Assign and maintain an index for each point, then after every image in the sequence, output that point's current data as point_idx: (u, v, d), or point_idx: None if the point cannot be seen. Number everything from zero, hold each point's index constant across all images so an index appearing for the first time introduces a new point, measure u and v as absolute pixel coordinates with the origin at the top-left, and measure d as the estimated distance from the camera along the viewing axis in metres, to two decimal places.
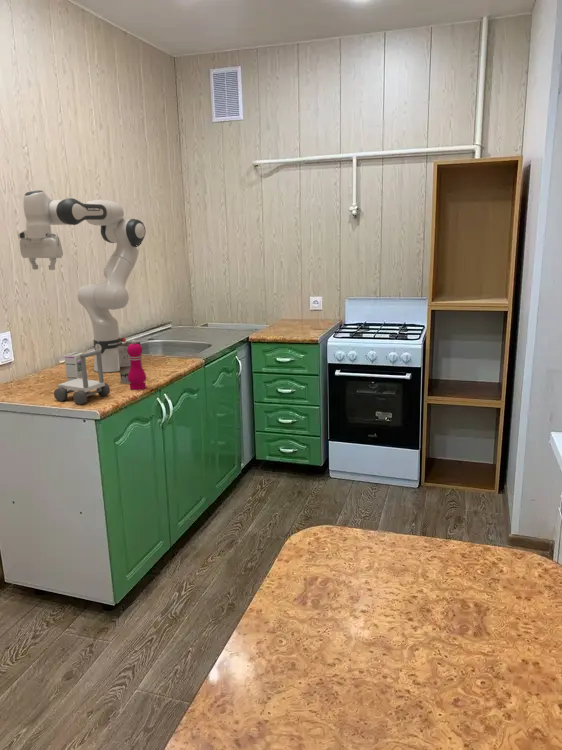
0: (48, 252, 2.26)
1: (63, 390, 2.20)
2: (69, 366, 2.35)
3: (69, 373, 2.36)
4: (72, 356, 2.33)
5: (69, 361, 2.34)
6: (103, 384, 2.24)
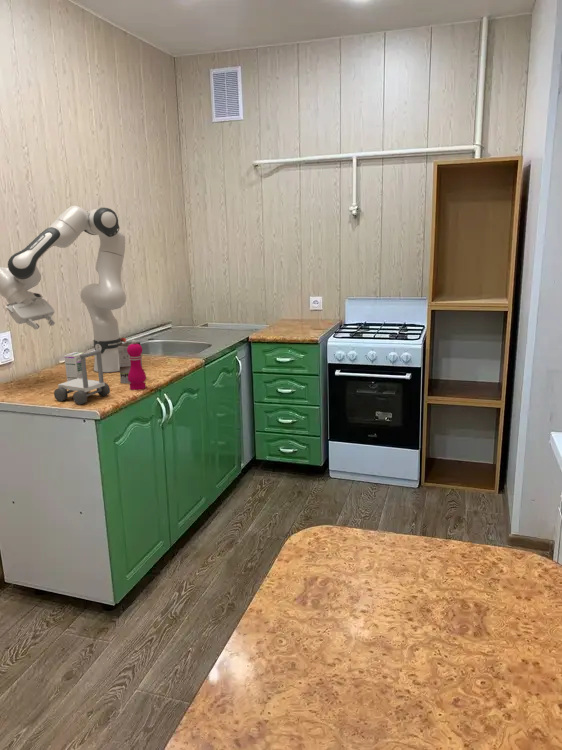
0: None
1: (63, 390, 2.20)
2: (69, 366, 2.35)
3: (69, 373, 2.36)
4: (72, 356, 2.33)
5: (69, 361, 2.34)
6: (103, 384, 2.24)
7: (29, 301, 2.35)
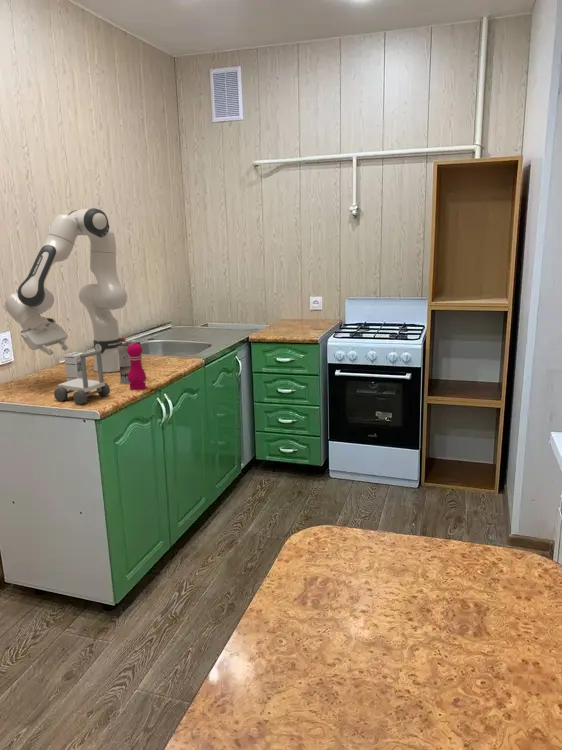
0: None
1: (63, 390, 2.20)
2: (69, 366, 2.35)
3: (69, 373, 2.36)
4: (72, 356, 2.33)
5: (69, 361, 2.34)
6: (103, 384, 2.24)
7: (43, 327, 2.36)
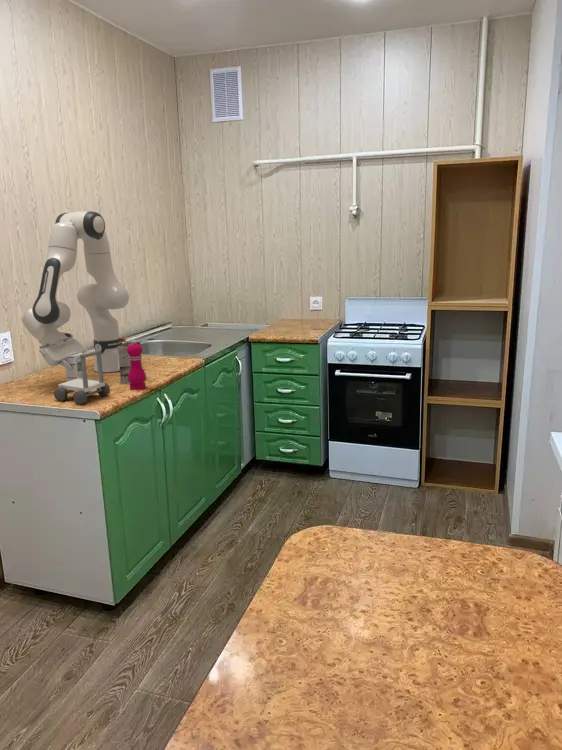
0: None
1: (63, 390, 2.20)
2: None
3: (69, 373, 2.36)
4: (72, 356, 2.33)
5: (69, 361, 2.34)
6: (103, 384, 2.24)
7: (61, 342, 2.35)
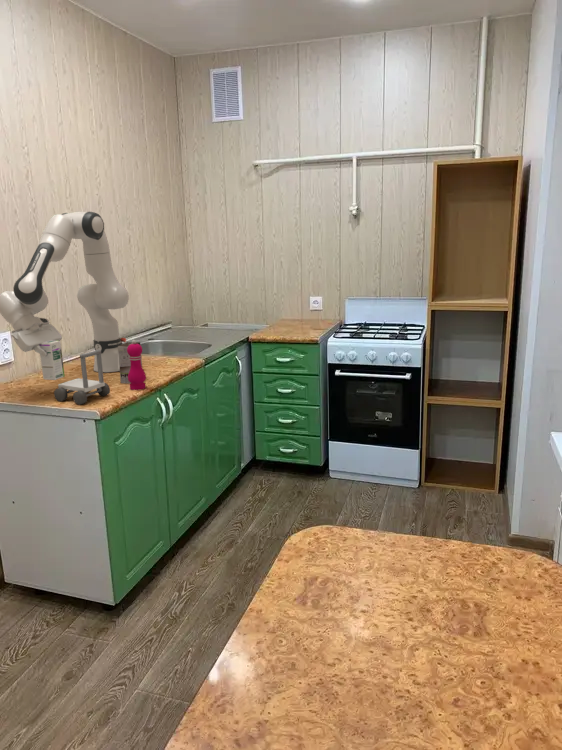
0: None
1: (63, 390, 2.20)
2: None
3: (44, 362, 2.22)
4: (47, 344, 2.20)
5: (44, 349, 2.21)
6: (103, 384, 2.24)
7: (35, 327, 2.22)
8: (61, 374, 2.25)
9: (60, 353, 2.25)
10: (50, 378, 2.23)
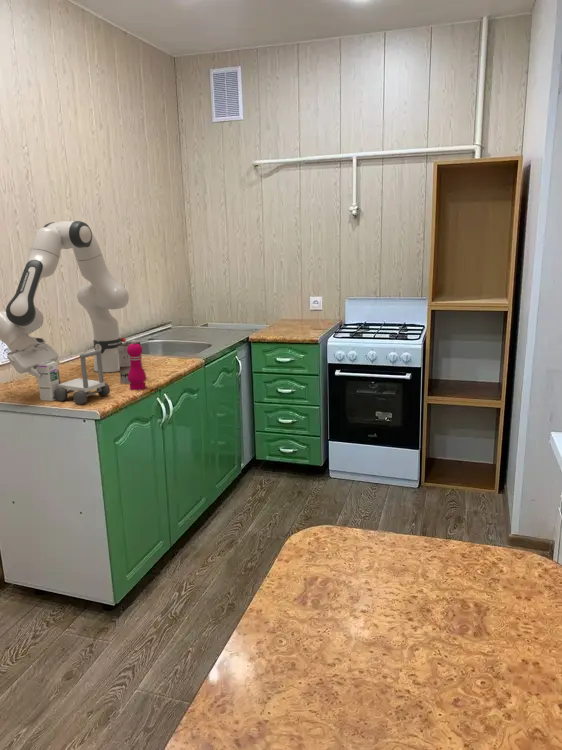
0: None
1: (63, 390, 2.20)
2: None
3: (41, 383, 2.21)
4: (44, 365, 2.19)
5: (41, 370, 2.20)
6: (103, 384, 2.24)
7: (31, 348, 2.21)
8: None
9: (57, 374, 2.24)
10: (47, 399, 2.22)
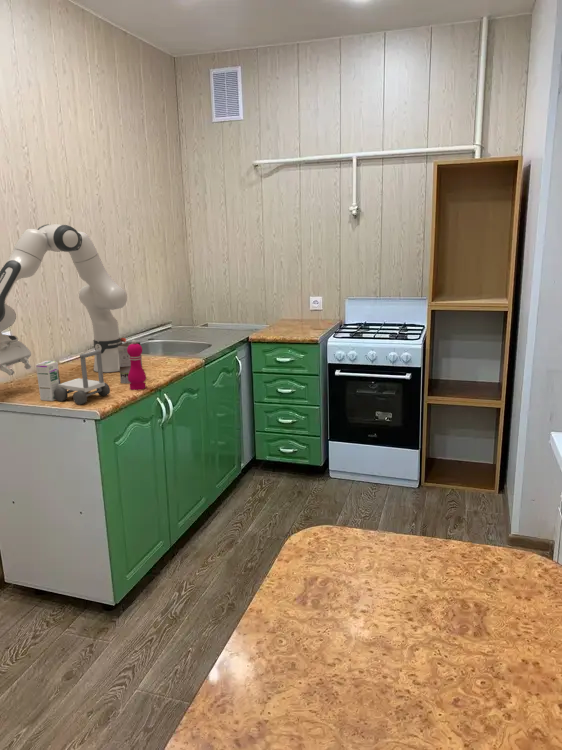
0: None
1: (63, 390, 2.20)
2: (41, 376, 2.20)
3: (41, 383, 2.21)
4: (44, 365, 2.19)
5: (41, 370, 2.20)
6: (103, 384, 2.24)
7: (3, 345, 2.24)
8: None
9: (57, 374, 2.24)
10: (47, 399, 2.22)
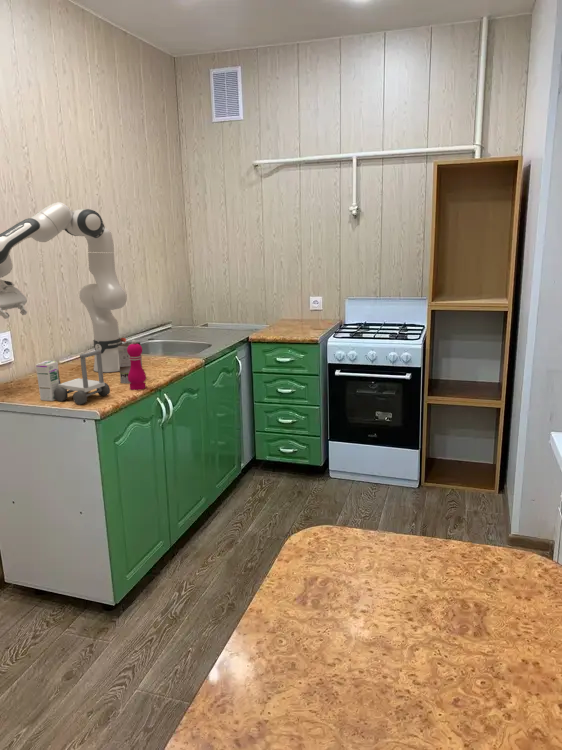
0: None
1: (63, 390, 2.20)
2: (41, 376, 2.20)
3: (41, 383, 2.21)
4: (44, 365, 2.19)
5: (41, 370, 2.20)
6: (103, 384, 2.24)
7: None
8: None
9: (57, 374, 2.24)
10: (47, 399, 2.22)
